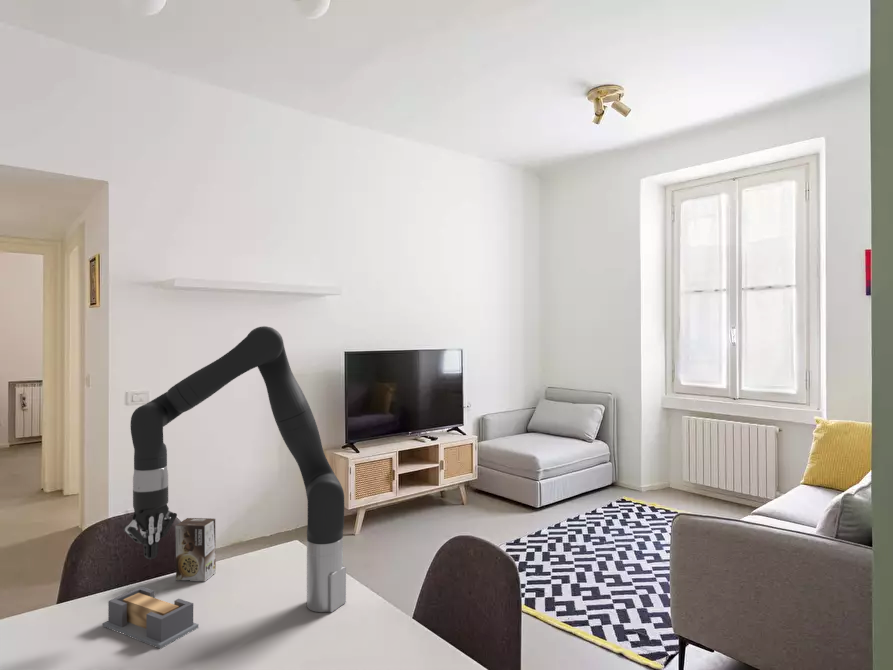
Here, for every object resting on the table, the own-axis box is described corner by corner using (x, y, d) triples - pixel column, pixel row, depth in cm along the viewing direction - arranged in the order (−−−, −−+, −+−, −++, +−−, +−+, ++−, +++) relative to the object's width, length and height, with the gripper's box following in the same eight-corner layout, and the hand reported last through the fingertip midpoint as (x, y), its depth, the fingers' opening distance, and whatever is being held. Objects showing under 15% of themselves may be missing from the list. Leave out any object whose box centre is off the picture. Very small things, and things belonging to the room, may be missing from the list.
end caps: (198, 627, 132) (198, 602, 132) (160, 648, 123) (160, 621, 123) (142, 608, 141) (142, 584, 141) (103, 626, 133) (103, 601, 133)
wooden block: (178, 627, 131) (179, 606, 131) (163, 635, 127) (163, 613, 127) (138, 612, 137) (138, 592, 137) (122, 620, 134) (123, 599, 134)
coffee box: (216, 572, 163) (216, 518, 163) (204, 582, 156) (205, 525, 156) (187, 571, 164) (187, 517, 164) (174, 580, 157) (174, 524, 157)
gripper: (134, 495, 125) (134, 571, 125) (185, 481, 137) (185, 551, 137) (113, 491, 128) (114, 565, 128) (165, 477, 140) (165, 546, 140)
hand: (151, 557), depth 132 cm, fingers closed
